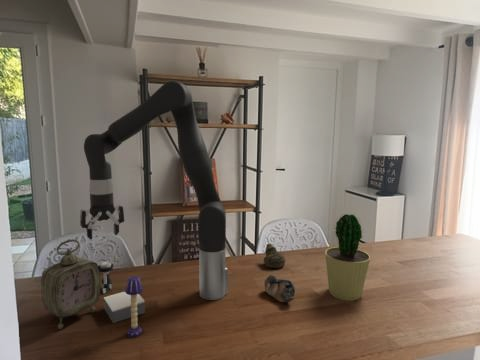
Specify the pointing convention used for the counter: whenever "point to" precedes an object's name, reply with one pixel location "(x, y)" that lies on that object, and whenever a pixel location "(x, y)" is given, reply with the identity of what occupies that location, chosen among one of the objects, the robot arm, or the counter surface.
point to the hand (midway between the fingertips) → (103, 236)
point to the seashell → (273, 257)
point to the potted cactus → (347, 261)
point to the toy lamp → (134, 305)
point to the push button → (106, 275)
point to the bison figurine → (280, 288)
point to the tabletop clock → (70, 285)
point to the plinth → (122, 306)
